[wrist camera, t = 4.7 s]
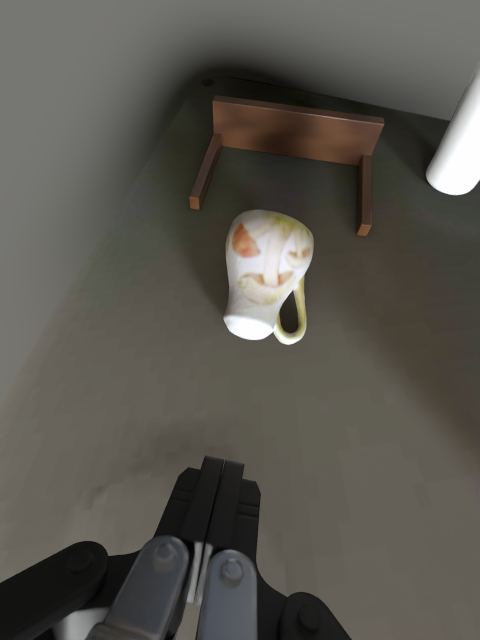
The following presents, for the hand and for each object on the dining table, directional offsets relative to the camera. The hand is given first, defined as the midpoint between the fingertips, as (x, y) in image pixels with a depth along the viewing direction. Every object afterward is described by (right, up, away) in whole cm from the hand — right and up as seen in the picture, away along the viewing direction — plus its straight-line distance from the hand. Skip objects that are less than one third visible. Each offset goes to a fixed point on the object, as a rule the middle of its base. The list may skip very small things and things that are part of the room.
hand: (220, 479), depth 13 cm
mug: (+3, +8, +17) cm, 19 cm away
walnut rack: (+5, +20, +25) cm, 32 cm away
